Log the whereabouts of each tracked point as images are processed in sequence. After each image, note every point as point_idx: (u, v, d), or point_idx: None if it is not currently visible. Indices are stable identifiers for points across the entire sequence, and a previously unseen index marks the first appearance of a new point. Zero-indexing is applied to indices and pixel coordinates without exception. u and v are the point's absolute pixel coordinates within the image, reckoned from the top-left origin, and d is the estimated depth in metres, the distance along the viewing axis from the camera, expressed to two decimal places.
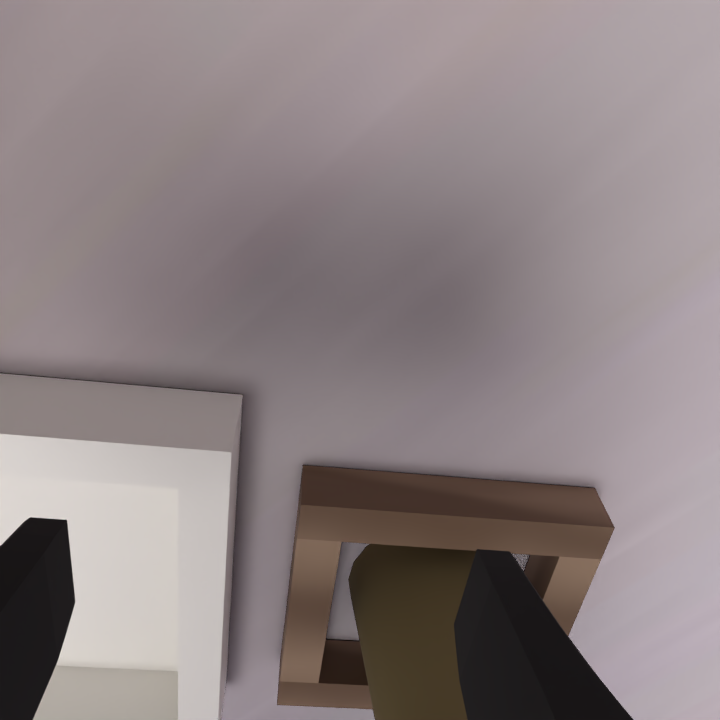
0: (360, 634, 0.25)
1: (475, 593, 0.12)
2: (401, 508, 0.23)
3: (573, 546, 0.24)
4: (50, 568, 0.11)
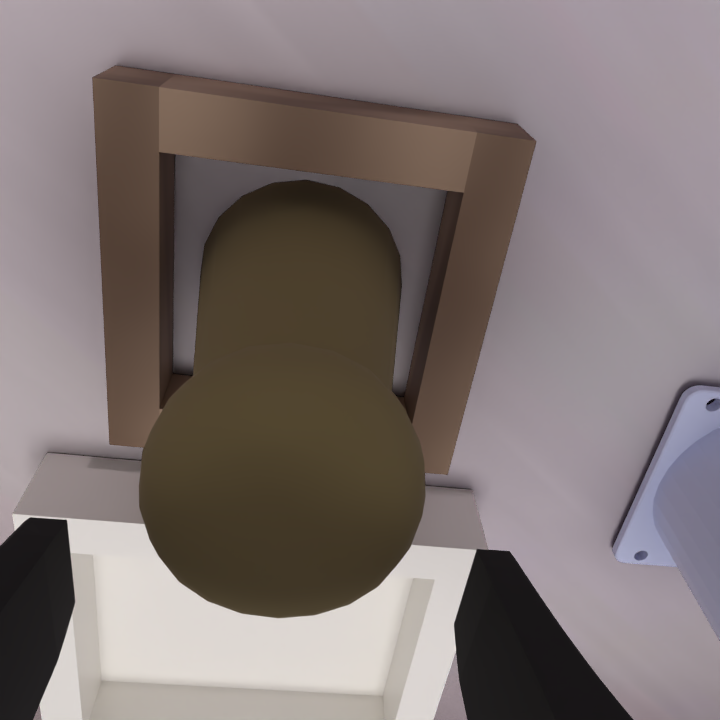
0: None
1: (475, 593, 0.12)
2: (106, 347, 0.20)
3: (137, 134, 0.17)
4: (50, 568, 0.11)
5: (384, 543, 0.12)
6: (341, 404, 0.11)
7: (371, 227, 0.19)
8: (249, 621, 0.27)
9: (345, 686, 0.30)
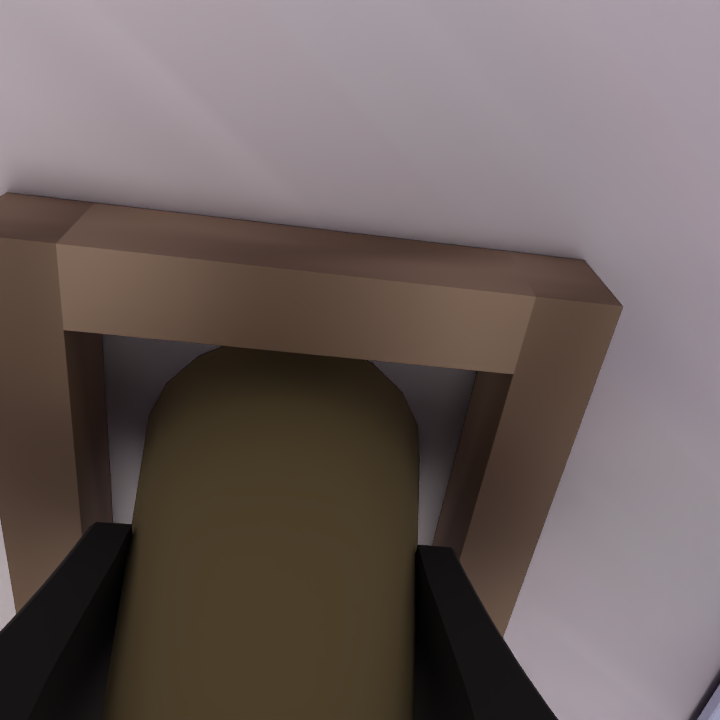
0: None
1: None
2: (12, 565, 0.14)
3: (28, 307, 0.11)
4: (119, 572, 0.11)
5: None
6: None
7: (379, 407, 0.13)
8: None
9: None
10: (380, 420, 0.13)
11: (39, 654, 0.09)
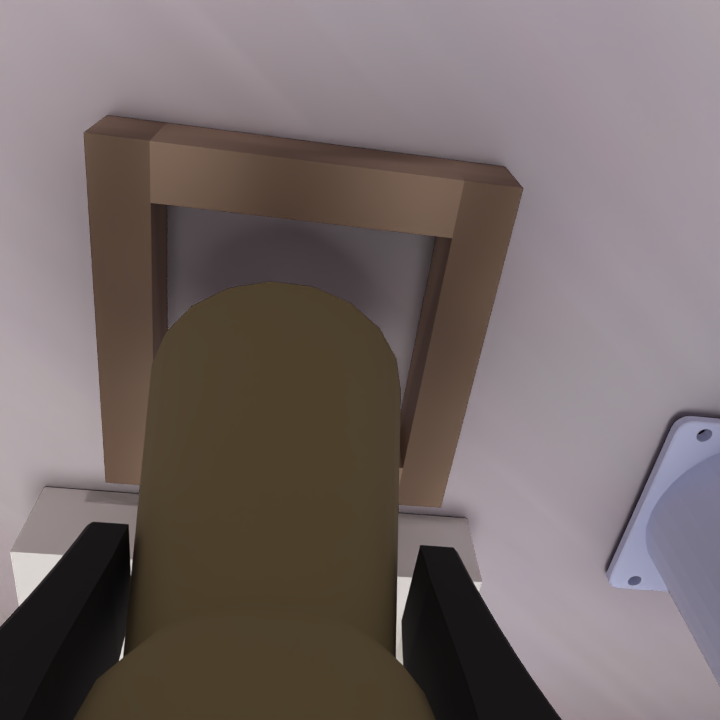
0: None
1: (417, 590, 0.12)
2: (101, 389, 0.20)
3: (128, 186, 0.17)
4: (115, 572, 0.11)
5: None
6: None
7: (357, 340, 0.15)
8: None
9: None
10: (358, 351, 0.15)
11: (35, 654, 0.09)
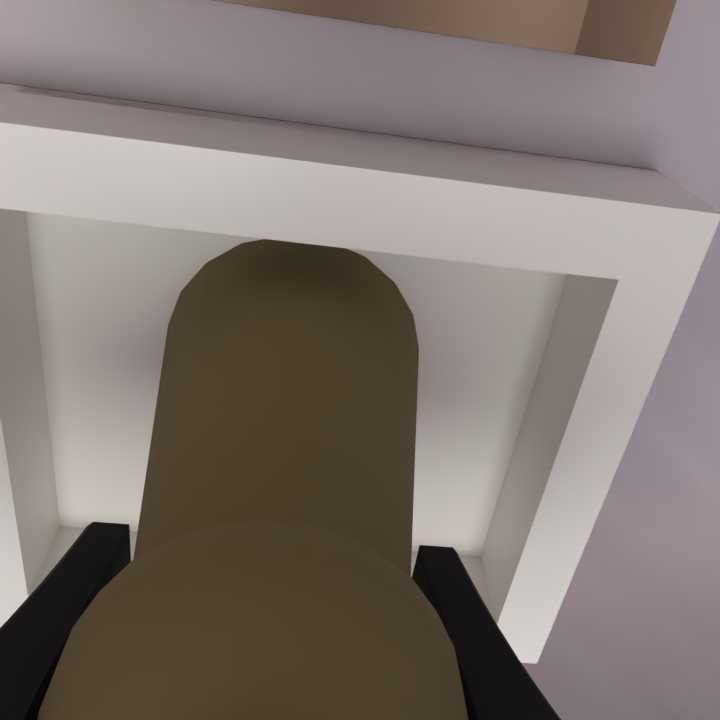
0: None
1: None
2: None
3: None
4: (116, 572, 0.11)
5: None
6: (319, 651, 0.07)
7: (370, 289, 0.15)
8: None
9: (426, 539, 0.20)
10: (372, 299, 0.14)
11: (36, 654, 0.09)
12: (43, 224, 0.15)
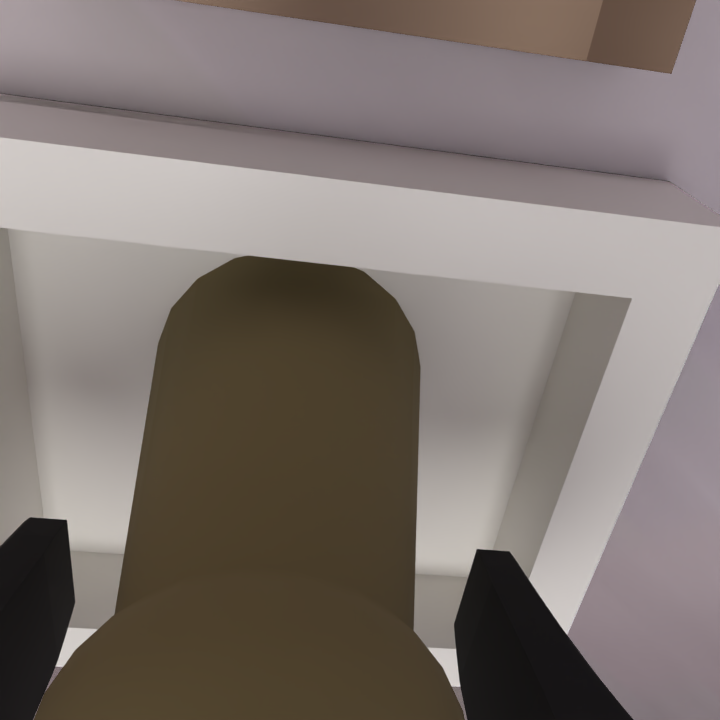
0: None
1: (475, 593, 0.12)
2: None
3: None
4: (50, 568, 0.11)
5: None
6: None
7: (370, 307, 0.14)
8: None
9: (428, 561, 0.19)
10: (372, 317, 0.14)
11: None
12: (26, 239, 0.14)
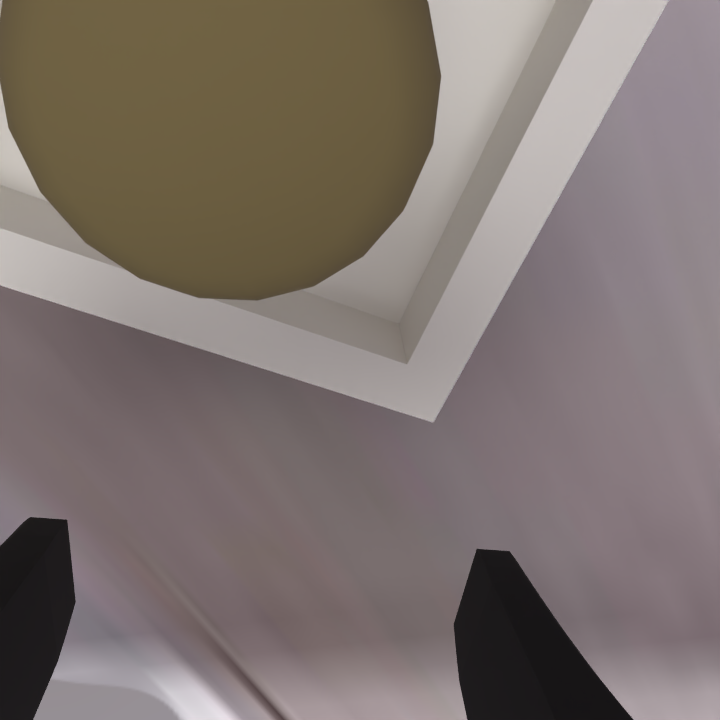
0: None
1: (474, 593, 0.12)
2: None
3: None
4: (50, 568, 0.11)
5: (374, 151, 0.08)
6: None
7: None
8: None
9: (352, 290, 0.20)
10: None
11: None
12: None
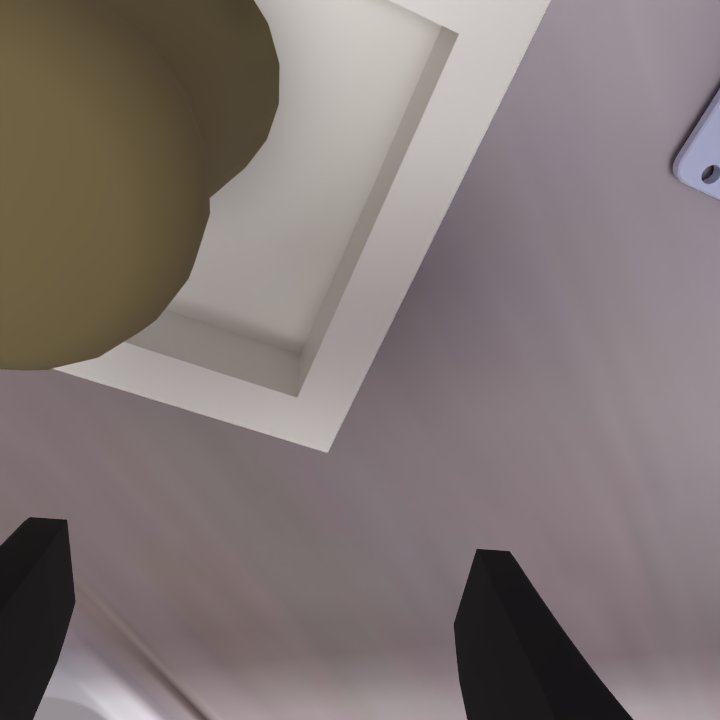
0: None
1: (475, 593, 0.12)
2: None
3: None
4: (50, 568, 0.11)
5: (114, 247, 0.08)
6: (65, 13, 0.08)
7: (239, 1, 0.15)
8: None
9: (252, 322, 0.21)
10: (238, 6, 0.15)
11: None
12: None
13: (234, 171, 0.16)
